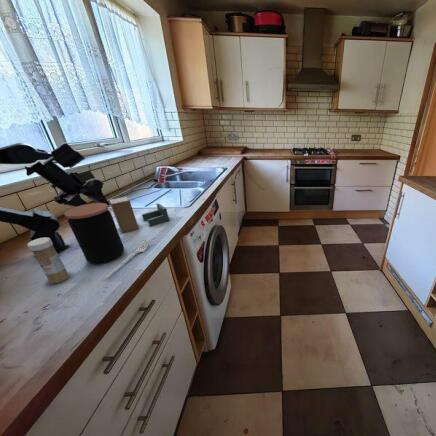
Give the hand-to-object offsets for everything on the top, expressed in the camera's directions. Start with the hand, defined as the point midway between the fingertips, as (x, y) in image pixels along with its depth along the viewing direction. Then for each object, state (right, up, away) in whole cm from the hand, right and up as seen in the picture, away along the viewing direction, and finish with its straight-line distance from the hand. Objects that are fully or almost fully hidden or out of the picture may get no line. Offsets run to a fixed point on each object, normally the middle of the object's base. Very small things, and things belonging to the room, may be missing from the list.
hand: (100, 207), depth 88 cm
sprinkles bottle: (+4, -23, -19) cm, 30 cm away
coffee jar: (+10, -18, -9) cm, 22 cm away
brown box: (+4, -9, +9) cm, 14 cm away
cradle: (+12, -5, +16) cm, 21 cm away
